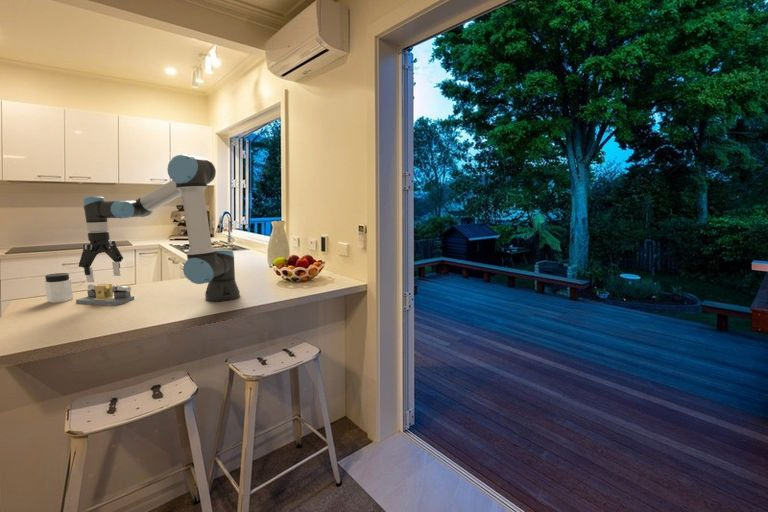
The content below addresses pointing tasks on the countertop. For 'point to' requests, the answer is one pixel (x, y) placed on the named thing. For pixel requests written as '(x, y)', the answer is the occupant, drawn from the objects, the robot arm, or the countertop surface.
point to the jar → (58, 287)
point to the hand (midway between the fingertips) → (104, 278)
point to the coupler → (103, 291)
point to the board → (103, 300)
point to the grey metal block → (121, 292)
